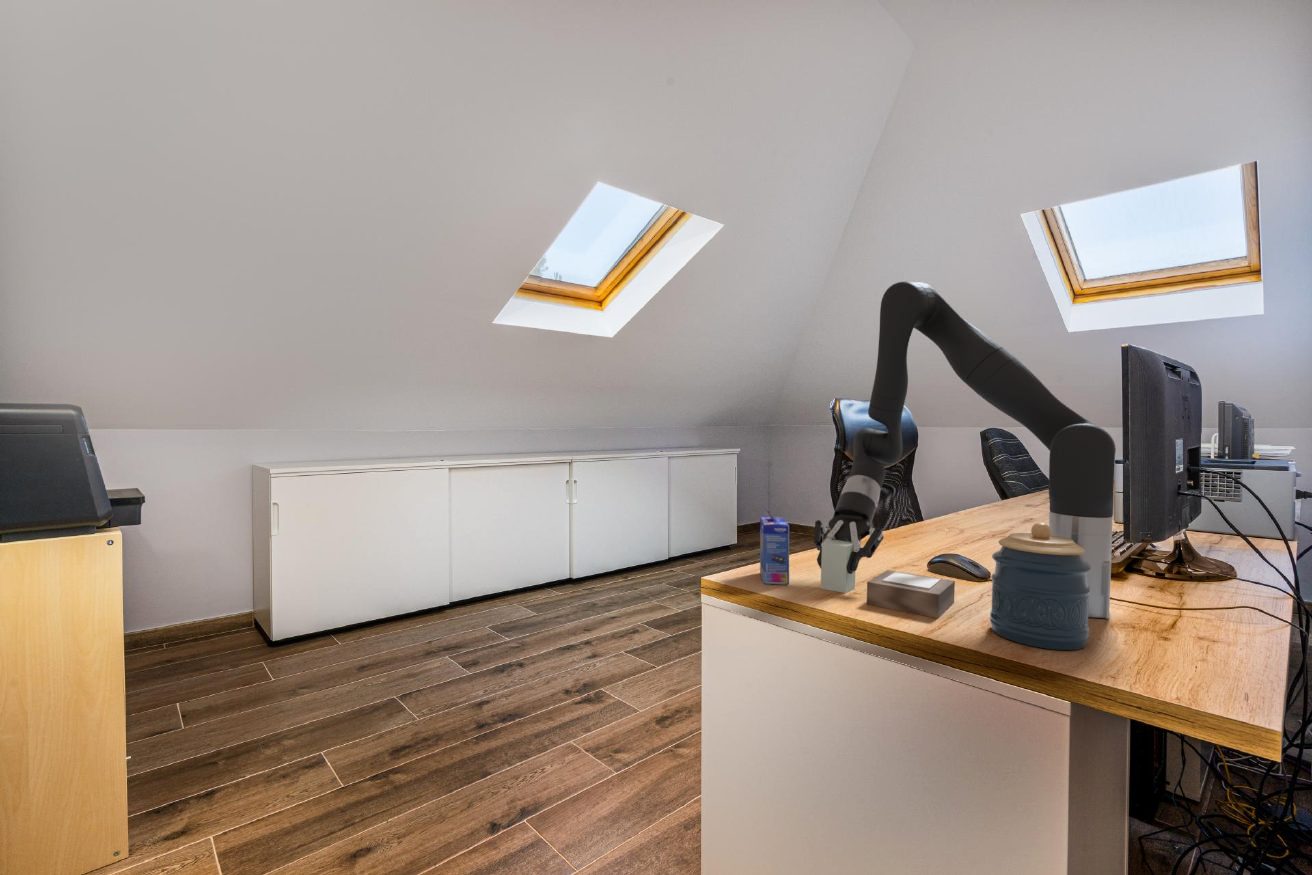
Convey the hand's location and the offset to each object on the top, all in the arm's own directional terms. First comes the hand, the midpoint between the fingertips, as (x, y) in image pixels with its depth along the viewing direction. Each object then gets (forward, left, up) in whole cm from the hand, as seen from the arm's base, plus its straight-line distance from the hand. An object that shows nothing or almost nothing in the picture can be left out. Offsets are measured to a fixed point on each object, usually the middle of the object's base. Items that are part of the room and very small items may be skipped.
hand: (835, 568), depth 117 cm
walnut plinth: (-14, -1, -4) cm, 15 cm away
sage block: (0, -2, -4) cm, 5 cm away
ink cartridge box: (+13, 0, -4) cm, 14 cm away
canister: (-34, +4, -4) cm, 34 cm away
